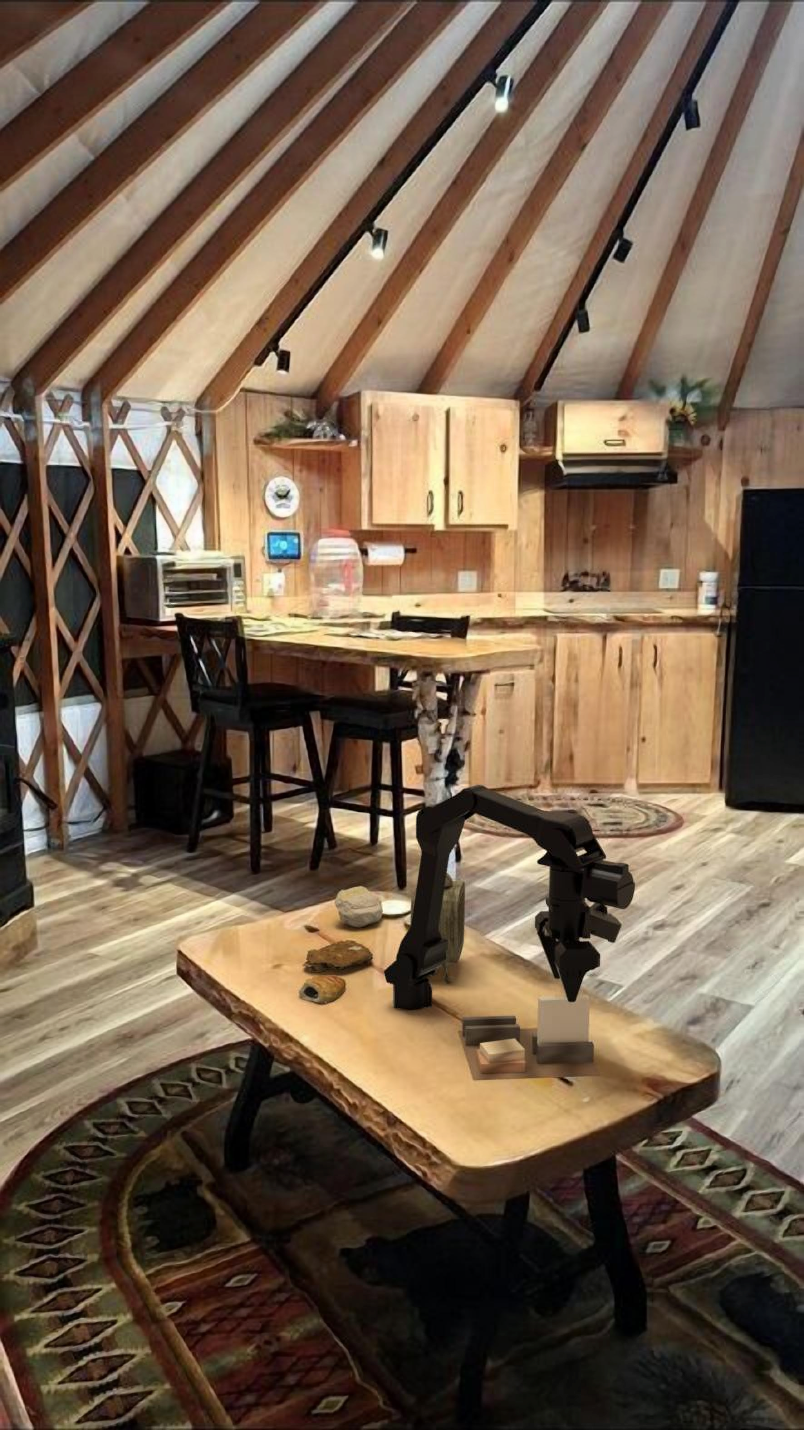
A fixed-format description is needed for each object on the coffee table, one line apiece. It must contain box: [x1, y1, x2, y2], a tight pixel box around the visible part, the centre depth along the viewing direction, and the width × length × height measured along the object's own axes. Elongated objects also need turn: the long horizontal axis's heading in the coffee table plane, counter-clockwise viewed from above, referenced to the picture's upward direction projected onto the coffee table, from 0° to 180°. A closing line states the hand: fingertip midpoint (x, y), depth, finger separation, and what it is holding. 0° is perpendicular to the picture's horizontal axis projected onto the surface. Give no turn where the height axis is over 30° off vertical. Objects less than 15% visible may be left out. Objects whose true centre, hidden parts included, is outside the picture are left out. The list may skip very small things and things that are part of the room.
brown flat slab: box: [301, 939, 374, 973], centre depth 206 cm, size 11×4×15 cm
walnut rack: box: [457, 1015, 602, 1081], centre depth 166 cm, size 20×17×4 cm
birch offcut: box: [480, 1039, 525, 1064], centre depth 162 cm, size 6×4×2 cm, turn 107°
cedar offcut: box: [476, 1049, 525, 1073], centre depth 162 cm, size 7×5×2 cm
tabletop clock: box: [409, 872, 466, 984], centre depth 201 cm, size 14×9×25 cm, turn 170°
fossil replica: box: [334, 885, 384, 928], centre depth 230 cm, size 12×8×10 cm
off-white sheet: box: [536, 994, 591, 1043], centre depth 164 cm, size 8×2×10 cm, turn 95°
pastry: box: [298, 974, 347, 1004], centre depth 192 cm, size 9×7×4 cm
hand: (564, 989), depth 163 cm, fingers open, 9 cm apart
